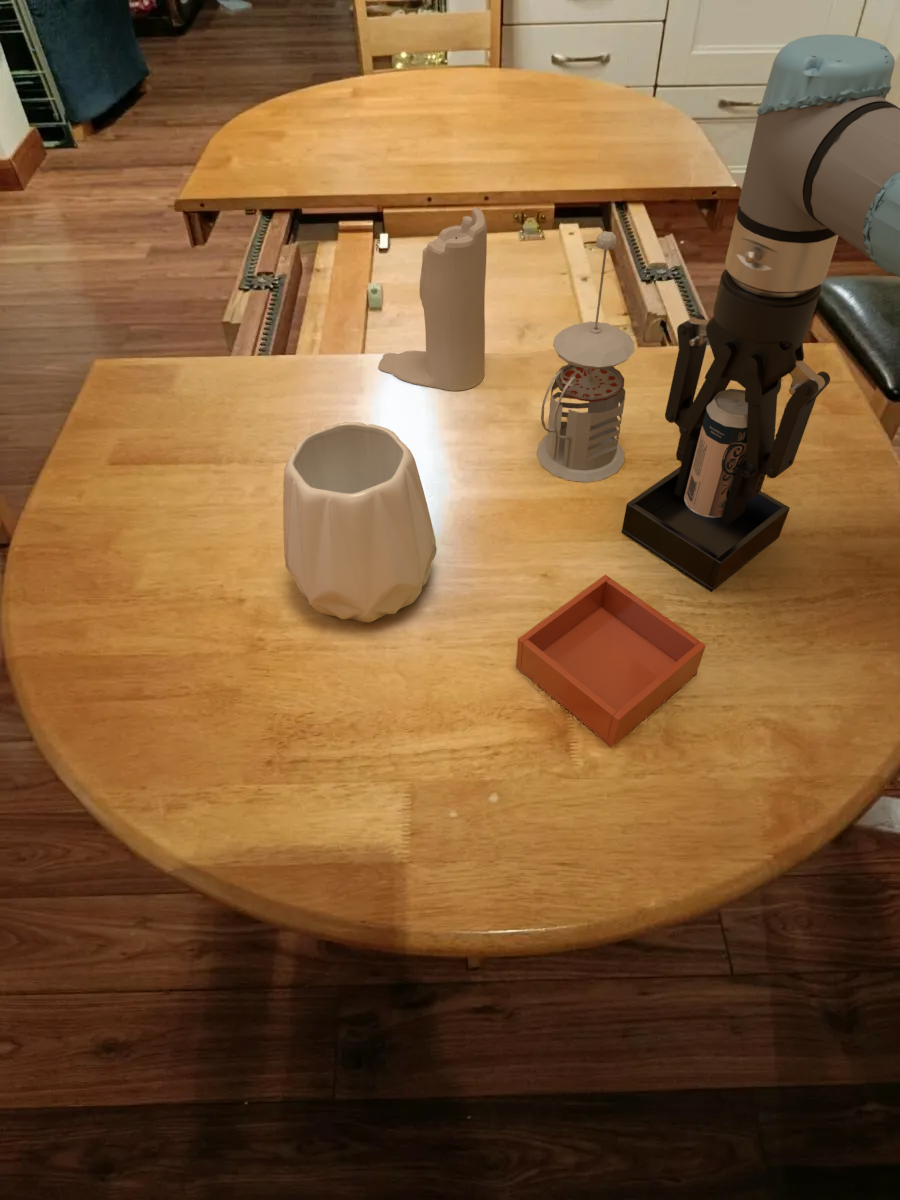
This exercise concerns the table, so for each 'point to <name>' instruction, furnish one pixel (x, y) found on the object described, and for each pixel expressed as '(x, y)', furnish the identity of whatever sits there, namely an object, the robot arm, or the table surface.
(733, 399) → the beer can
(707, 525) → the black bin
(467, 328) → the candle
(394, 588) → the vase
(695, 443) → the robot arm
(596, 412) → the french press
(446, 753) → the table surface
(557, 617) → the terracotta bin
